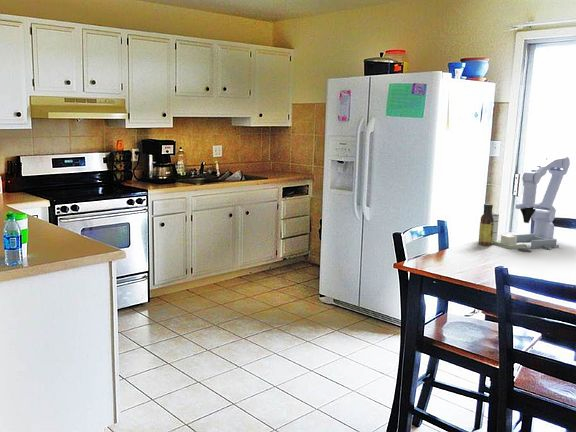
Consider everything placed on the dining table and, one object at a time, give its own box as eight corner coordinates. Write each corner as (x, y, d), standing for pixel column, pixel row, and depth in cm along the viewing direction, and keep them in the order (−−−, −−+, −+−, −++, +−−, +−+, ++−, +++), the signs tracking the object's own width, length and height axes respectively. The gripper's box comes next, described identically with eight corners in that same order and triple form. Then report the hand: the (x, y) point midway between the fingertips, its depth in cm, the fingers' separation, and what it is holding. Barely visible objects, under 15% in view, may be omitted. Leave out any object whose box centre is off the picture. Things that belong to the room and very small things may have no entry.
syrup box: (497, 242, 272) (500, 213, 269) (485, 242, 272) (487, 213, 269) (493, 240, 277) (495, 212, 275) (481, 239, 277) (484, 211, 275)
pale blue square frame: (532, 240, 280) (533, 233, 280) (555, 246, 267) (556, 239, 267) (510, 241, 275) (510, 234, 274) (532, 248, 262) (533, 241, 261)
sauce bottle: (492, 246, 262) (496, 205, 259) (479, 245, 263) (482, 204, 260) (490, 243, 269) (494, 203, 265) (477, 242, 270) (481, 203, 266)
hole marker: (524, 248, 260) (524, 248, 260) (534, 251, 254) (534, 251, 254) (514, 249, 258) (514, 249, 258) (524, 252, 252) (524, 251, 252)
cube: (508, 244, 268) (509, 234, 268) (516, 246, 264) (517, 236, 263) (500, 245, 266) (501, 235, 266) (508, 247, 262) (509, 237, 261)
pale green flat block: (509, 242, 272) (509, 239, 272) (526, 247, 262) (526, 244, 262) (492, 243, 269) (492, 240, 268) (509, 248, 258) (509, 245, 258)
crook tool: (557, 246, 266) (557, 244, 266) (564, 248, 263) (564, 246, 263) (541, 247, 263) (542, 245, 263) (548, 249, 259) (548, 247, 259)
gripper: (524, 197, 265) (521, 224, 267) (546, 196, 270) (543, 223, 273) (513, 195, 271) (510, 222, 274) (535, 194, 277) (532, 220, 279)
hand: (526, 222), depth 274 cm, fingers closed
